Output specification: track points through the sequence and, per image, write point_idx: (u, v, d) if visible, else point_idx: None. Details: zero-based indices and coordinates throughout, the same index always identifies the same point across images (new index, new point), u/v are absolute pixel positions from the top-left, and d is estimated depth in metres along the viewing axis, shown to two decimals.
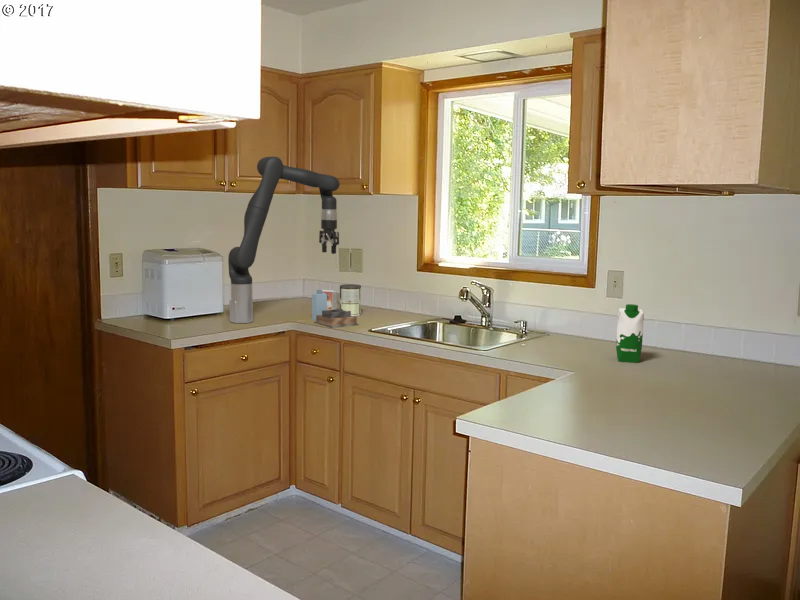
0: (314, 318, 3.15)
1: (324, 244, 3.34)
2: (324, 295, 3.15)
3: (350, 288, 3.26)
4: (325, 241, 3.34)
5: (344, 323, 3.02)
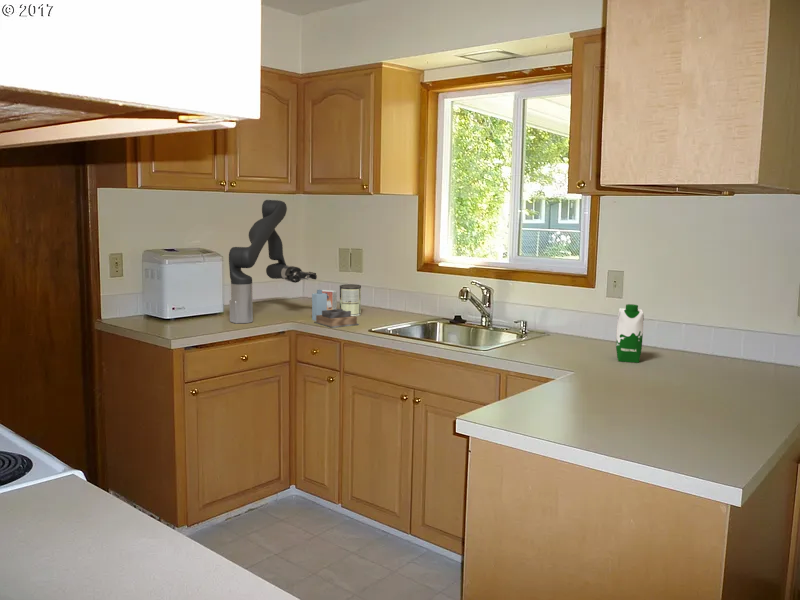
0: (314, 318, 3.15)
1: None
2: (324, 295, 3.15)
3: (350, 288, 3.26)
4: None
5: (344, 323, 3.02)
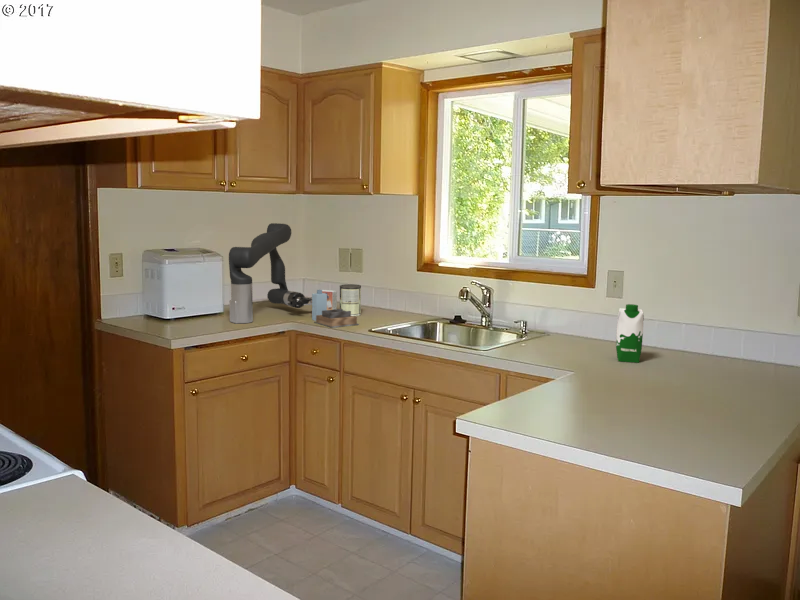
0: (314, 318, 3.15)
1: None
2: (324, 295, 3.15)
3: (350, 288, 3.26)
4: None
5: (344, 323, 3.02)
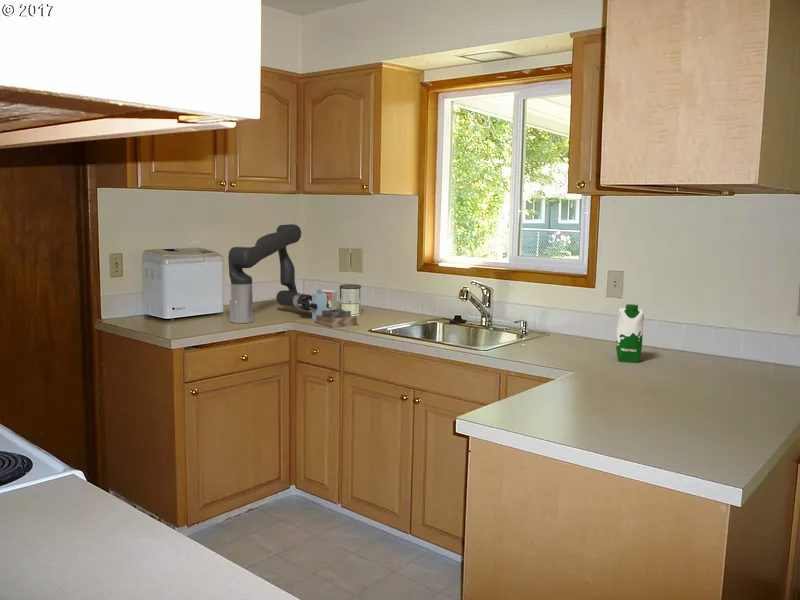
0: (314, 318, 3.15)
1: None
2: (324, 295, 3.15)
3: (350, 288, 3.26)
4: None
5: (344, 323, 3.02)
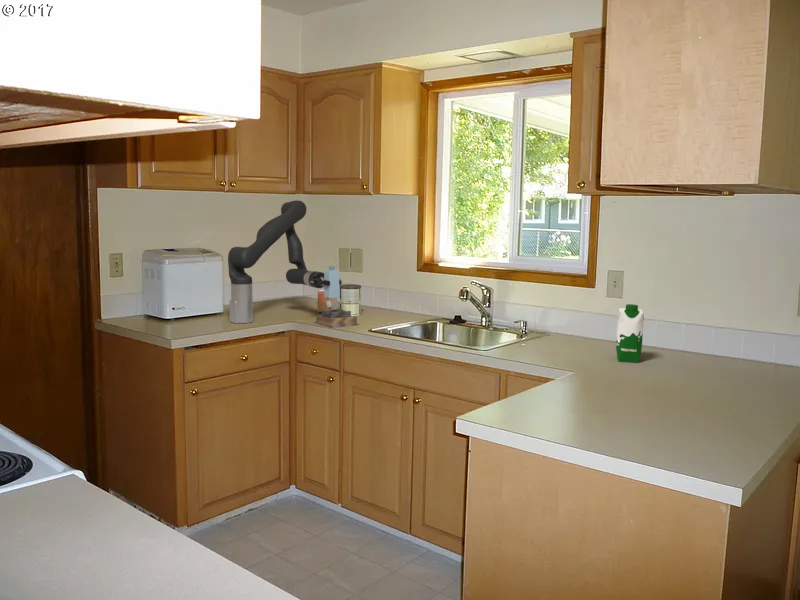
0: (326, 295, 3.07)
1: None
2: (337, 271, 3.07)
3: (350, 288, 3.26)
4: None
5: (344, 323, 3.02)
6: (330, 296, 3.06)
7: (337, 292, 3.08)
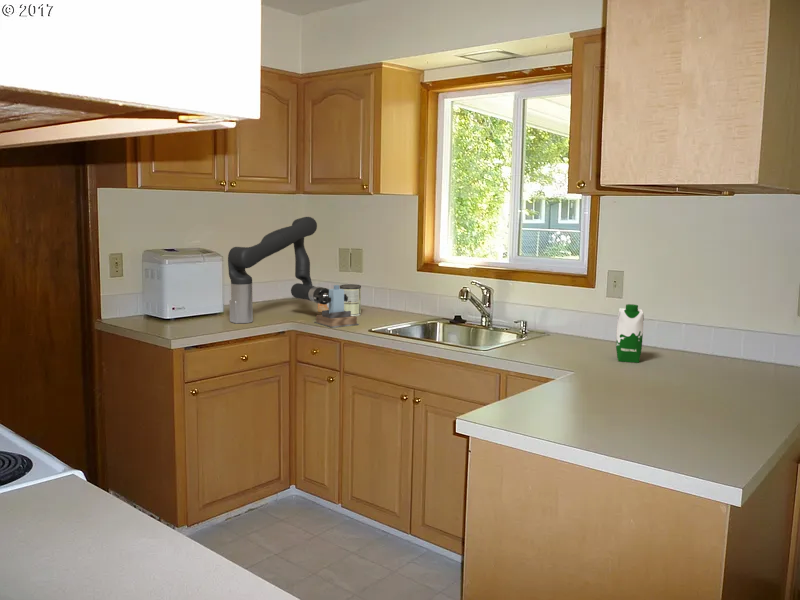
0: None
1: None
2: (341, 291, 3.05)
3: (350, 288, 3.26)
4: None
5: (344, 323, 3.02)
6: None
7: None
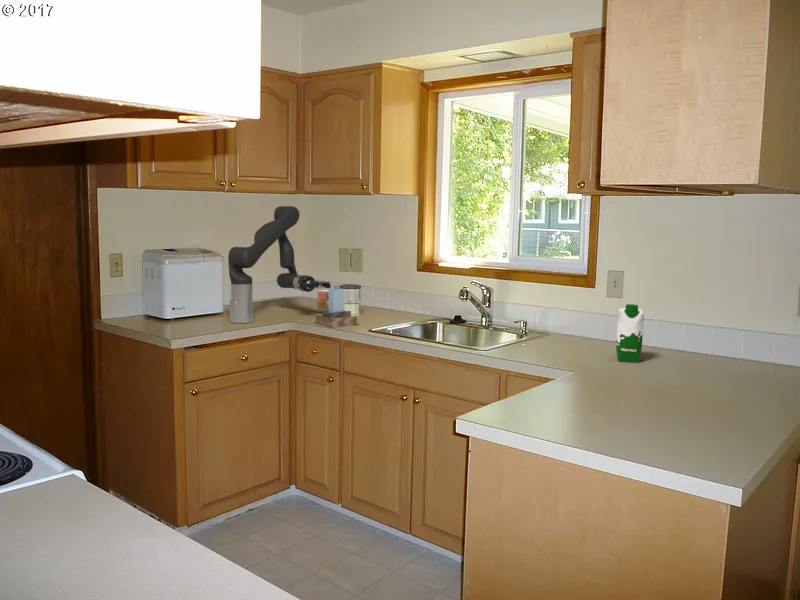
0: None
1: None
2: (341, 291, 3.05)
3: (350, 288, 3.26)
4: None
5: (344, 323, 3.02)
6: None
7: None
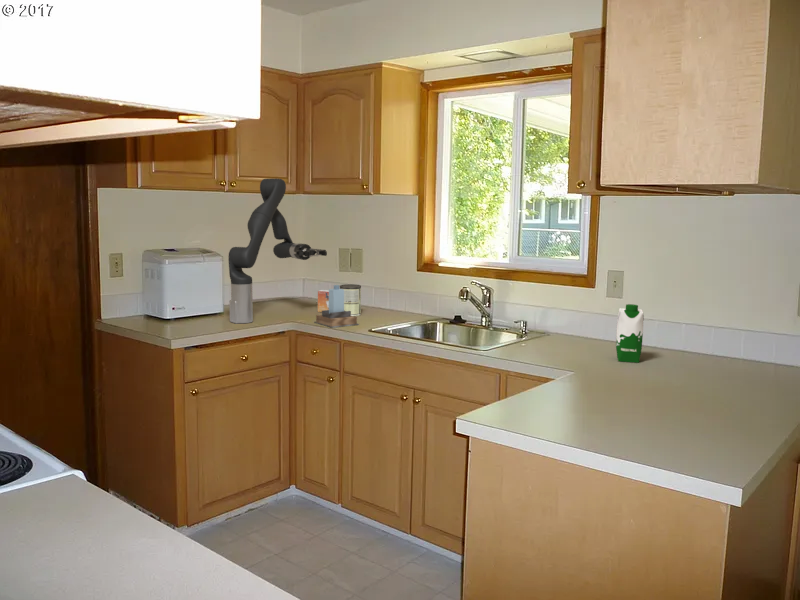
0: None
1: None
2: (341, 291, 3.05)
3: (350, 288, 3.26)
4: None
5: (344, 323, 3.02)
6: None
7: None
